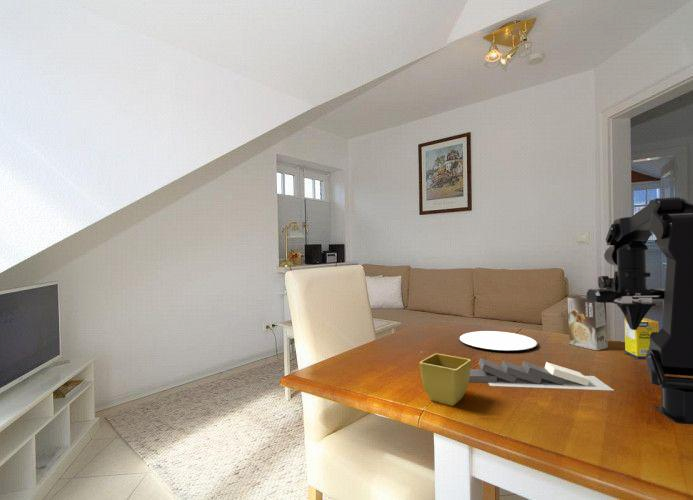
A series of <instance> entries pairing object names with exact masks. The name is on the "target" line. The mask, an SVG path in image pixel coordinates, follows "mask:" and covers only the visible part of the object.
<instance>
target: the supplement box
mask: <svg viewBox="0 0 693 500" xmlns="http://www.w3.org/2000/svg"><path fill="white" fill-rule="evenodd" d="M623 320H624V321H623V322H624V350H625V351H624V352H625V354H628V355H629V356H631V357H633V358H635V359H636V360H637V359H639V360H646V355H647V351H648V350H649V345H650V335H651V333H652V332H659V331H660V327H659V325H660V324H659V321H656V320H653V319H650V318H647V317H644V318H643V319H642V321H641V323H640V324H639V326H638V328H637V330H632V329H630V327H629V325H628V323H627V320H626V318H625V317H624V319H623Z"/></svg>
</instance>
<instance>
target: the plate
mask: <svg viewBox="0 0 693 500" xmlns="http://www.w3.org/2000/svg"><path fill="white" fill-rule="evenodd" d="M459 341H460V342H461V343H463V344H464V345H467V346H470V347H472V348H476V349H477V348H478V349H482V350H487V351H488V350H489V351H497V352H519V351H527V350H531V349H533V348H536V347H537V346H538V342H537V341H536V340H535V339H533V338H532V337H529V336H527V335H523V334H519V333H513V332H509V331H508V332H507V331H497V330H495V331H493V330H479V331H472V332H471V331H470V332H466V333H463V334H462V335H460V337H459Z"/></svg>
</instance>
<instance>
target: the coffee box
mask: <svg viewBox="0 0 693 500" xmlns="http://www.w3.org/2000/svg"><path fill="white" fill-rule="evenodd" d="M567 313H568V314H567V315H568V316H567V317H568V335H569V336H568V337H569V338H568V339H569V340H568V342H569V345H570V344H571V346H576V347H580V348H585V349H588V350H594V351H600V350H605V349H608V348H609V346H608V345H609V344H608V325H607V324H608V323H607V303H599V302H594V301H591V300H588V299H587V296H582V295H575V296H570V297H567Z"/></svg>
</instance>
